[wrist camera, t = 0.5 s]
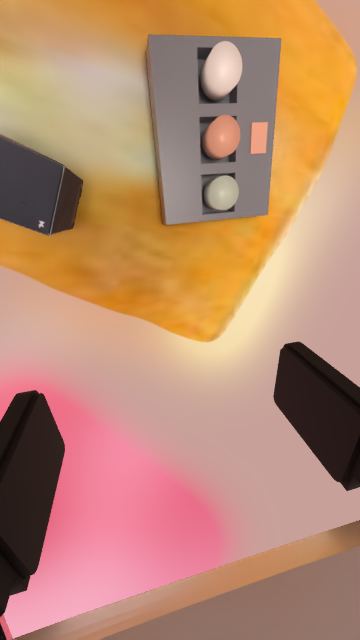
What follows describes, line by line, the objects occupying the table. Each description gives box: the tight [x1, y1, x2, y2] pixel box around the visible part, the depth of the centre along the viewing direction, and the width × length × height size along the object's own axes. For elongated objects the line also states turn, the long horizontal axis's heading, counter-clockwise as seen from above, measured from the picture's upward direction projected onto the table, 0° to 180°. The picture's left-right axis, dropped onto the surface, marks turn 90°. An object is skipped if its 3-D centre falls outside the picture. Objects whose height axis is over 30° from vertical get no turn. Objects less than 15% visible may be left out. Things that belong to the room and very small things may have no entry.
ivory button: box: [200, 41, 242, 101], centre depth 25 cm, size 4×4×2 cm
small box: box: [0, 135, 83, 236], centre depth 24 cm, size 11×6×10 cm, turn 68°
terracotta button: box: [202, 115, 240, 160], centre depth 27 cm, size 4×4×2 cm
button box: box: [146, 35, 281, 225], centre depth 29 cm, size 17×14×3 cm
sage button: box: [204, 176, 239, 210], centre depth 29 cm, size 4×4×2 cm
